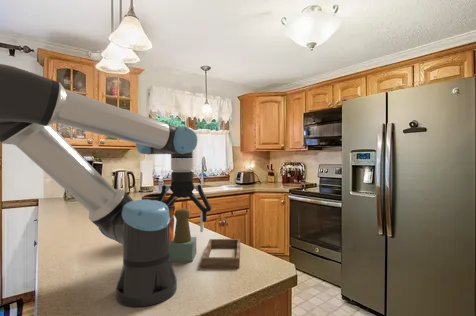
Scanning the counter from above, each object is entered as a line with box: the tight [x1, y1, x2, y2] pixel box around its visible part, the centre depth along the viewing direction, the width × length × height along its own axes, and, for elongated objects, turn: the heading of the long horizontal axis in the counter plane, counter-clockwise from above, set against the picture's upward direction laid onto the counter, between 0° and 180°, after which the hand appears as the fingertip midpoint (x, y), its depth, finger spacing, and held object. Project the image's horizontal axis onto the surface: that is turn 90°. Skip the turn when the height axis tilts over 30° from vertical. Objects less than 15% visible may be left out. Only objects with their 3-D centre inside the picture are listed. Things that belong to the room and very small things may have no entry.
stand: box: [170, 236, 197, 263], centre depth 95 cm, size 8×8×6 cm
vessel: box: [141, 191, 178, 242], centre depth 113 cm, size 14×14×20 cm
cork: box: [174, 208, 192, 243], centre depth 94 cm, size 6×6×11 cm
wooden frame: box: [201, 238, 241, 269], centre depth 95 cm, size 20×12×3 cm, turn 179°
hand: (182, 231), depth 95 cm, fingers open, 13 cm apart
